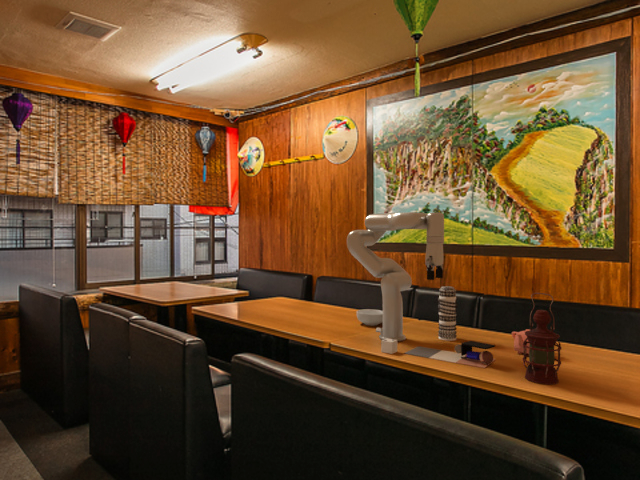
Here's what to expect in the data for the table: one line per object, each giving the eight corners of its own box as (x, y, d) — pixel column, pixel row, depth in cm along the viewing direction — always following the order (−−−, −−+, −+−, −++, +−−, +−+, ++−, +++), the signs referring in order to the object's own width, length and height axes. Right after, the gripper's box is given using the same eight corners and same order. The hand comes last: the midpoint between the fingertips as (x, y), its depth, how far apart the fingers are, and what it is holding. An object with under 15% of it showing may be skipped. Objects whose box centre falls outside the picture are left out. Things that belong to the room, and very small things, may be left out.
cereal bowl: (378, 328, 233) (378, 315, 233) (351, 325, 242) (351, 312, 242) (391, 323, 247) (391, 310, 247) (365, 320, 256) (365, 308, 256)
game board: (404, 353, 184) (404, 352, 184) (418, 346, 196) (418, 346, 196) (484, 368, 165) (484, 367, 165) (495, 359, 176) (495, 359, 176)
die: (381, 352, 187) (381, 340, 187) (386, 349, 191) (386, 338, 191) (391, 354, 184) (391, 342, 184) (397, 351, 188) (397, 339, 188)
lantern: (568, 381, 151) (569, 293, 150) (550, 388, 144) (551, 296, 143) (533, 371, 161) (534, 289, 160) (515, 378, 154) (515, 292, 153)
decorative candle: (439, 335, 217) (439, 285, 217) (458, 337, 213) (459, 286, 213) (435, 339, 209) (435, 287, 209) (455, 341, 205) (456, 288, 205)
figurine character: (454, 361, 178) (487, 366, 165) (452, 341, 178) (485, 345, 166) (465, 358, 181) (497, 363, 169) (463, 339, 182) (495, 343, 170)
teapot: (509, 348, 193) (510, 325, 193) (539, 350, 191) (539, 326, 191) (517, 357, 179) (517, 332, 179) (548, 359, 177) (548, 334, 177)
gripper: (434, 240, 205) (434, 276, 205) (419, 240, 191) (418, 279, 191) (450, 240, 200) (450, 277, 201) (435, 240, 186) (435, 281, 187)
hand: (434, 278), depth 196 cm, fingers open, 9 cm apart
